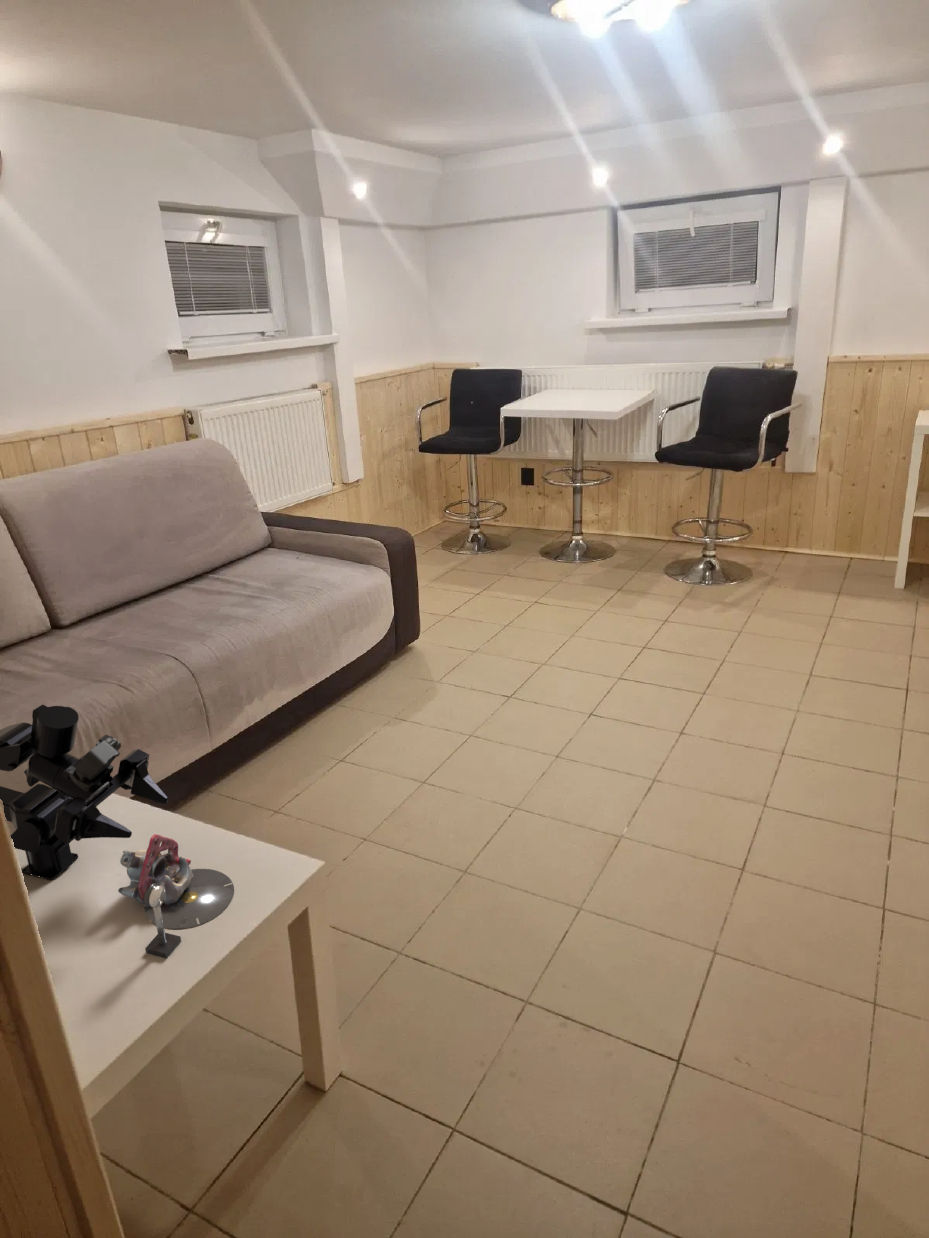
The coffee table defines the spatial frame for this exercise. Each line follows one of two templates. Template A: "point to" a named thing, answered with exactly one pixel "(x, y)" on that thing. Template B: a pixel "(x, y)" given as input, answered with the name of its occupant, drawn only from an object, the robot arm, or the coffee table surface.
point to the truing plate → (197, 901)
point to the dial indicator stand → (159, 923)
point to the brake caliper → (156, 870)
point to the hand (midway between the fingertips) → (149, 817)
